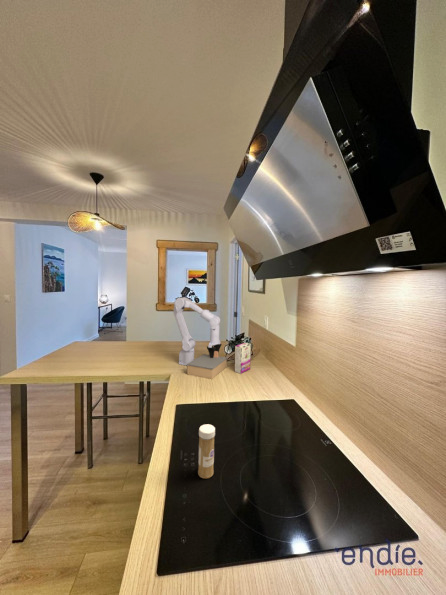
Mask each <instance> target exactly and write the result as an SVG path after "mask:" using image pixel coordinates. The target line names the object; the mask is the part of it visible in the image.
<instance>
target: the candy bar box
mask: <svg viewBox="0 0 446 595" xmlns="http://www.w3.org/2000/svg"><path fill="white" fill-rule="evenodd" d="M251 347H252V344H251V343H249V342H243V343H240V344H237V345H235V346H234V373H237V374H240V375H241V374H244V373H245V372H247V371H249V370H251V356H252V354H251V353H252V352H251V351H252V350H251V349H252V348H251Z"/></svg>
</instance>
